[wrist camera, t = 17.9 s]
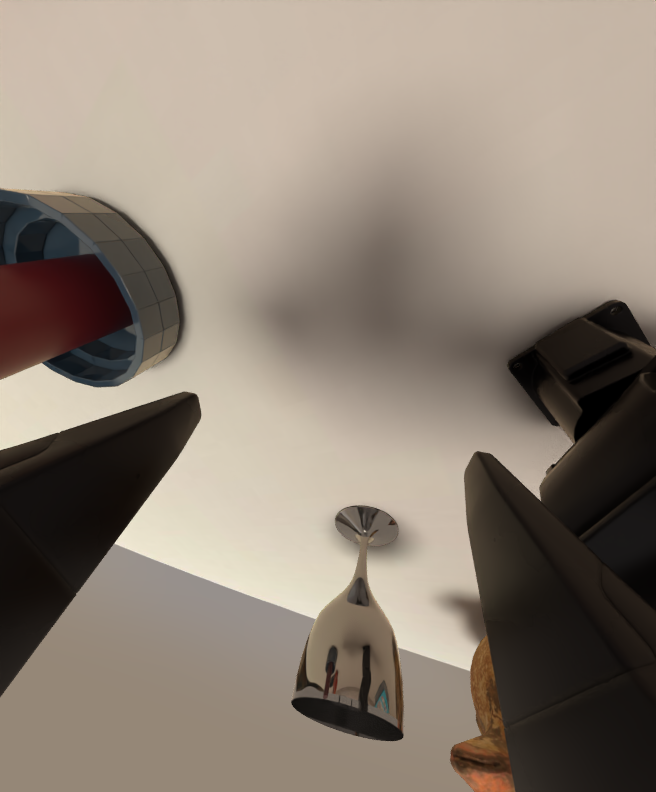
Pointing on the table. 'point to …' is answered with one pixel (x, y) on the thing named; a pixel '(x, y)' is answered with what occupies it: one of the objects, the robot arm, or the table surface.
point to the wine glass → (354, 648)
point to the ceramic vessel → (484, 733)
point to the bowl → (123, 258)
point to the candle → (55, 309)
